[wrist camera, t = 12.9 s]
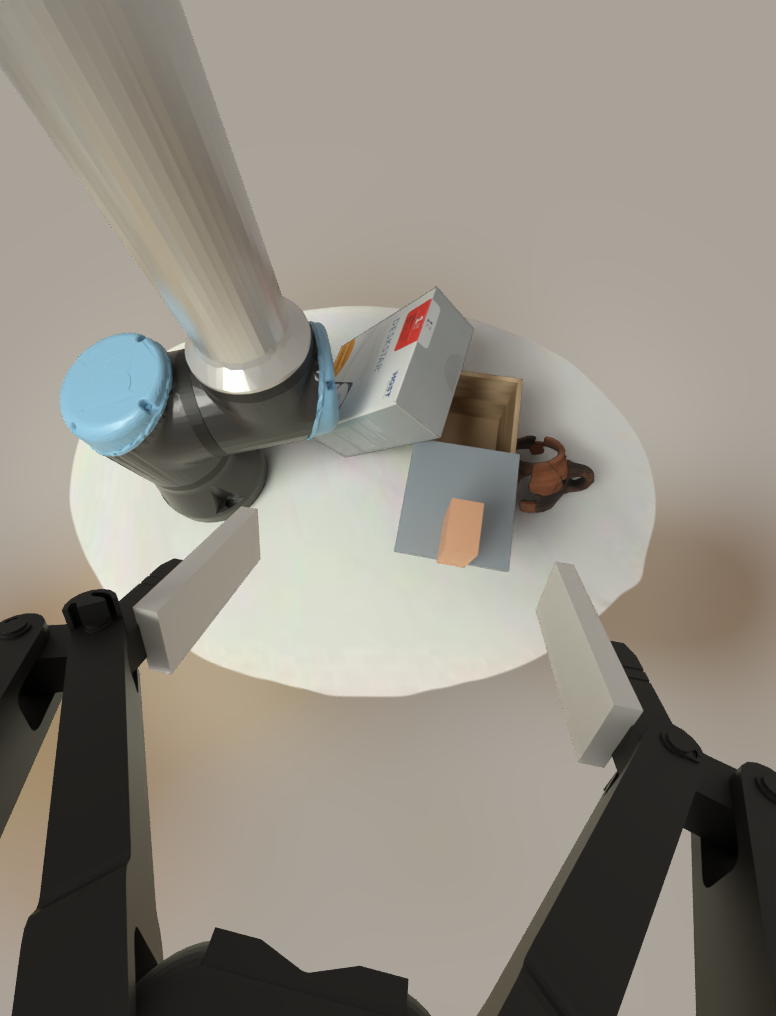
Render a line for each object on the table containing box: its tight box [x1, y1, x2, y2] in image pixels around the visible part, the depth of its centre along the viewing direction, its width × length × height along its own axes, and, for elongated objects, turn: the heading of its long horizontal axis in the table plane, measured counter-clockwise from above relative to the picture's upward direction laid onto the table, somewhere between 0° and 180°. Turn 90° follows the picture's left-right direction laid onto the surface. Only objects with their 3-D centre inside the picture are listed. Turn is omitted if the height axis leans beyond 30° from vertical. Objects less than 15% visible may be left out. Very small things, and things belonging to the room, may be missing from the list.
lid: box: [394, 440, 520, 572], centre depth 40 cm, size 13×14×8 cm
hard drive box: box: [313, 286, 474, 457], centre depth 50 cm, size 16×8×20 cm
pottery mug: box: [516, 436, 594, 513], centre depth 53 cm, size 12×10×8 cm
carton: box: [431, 371, 523, 454], centre depth 52 cm, size 12×14×10 cm
